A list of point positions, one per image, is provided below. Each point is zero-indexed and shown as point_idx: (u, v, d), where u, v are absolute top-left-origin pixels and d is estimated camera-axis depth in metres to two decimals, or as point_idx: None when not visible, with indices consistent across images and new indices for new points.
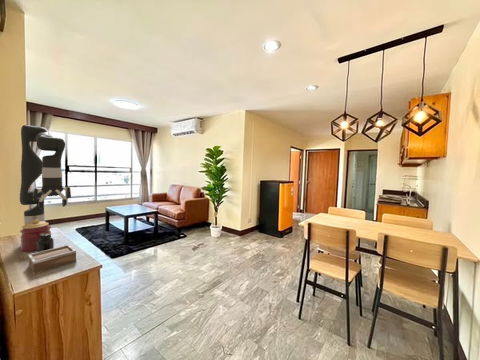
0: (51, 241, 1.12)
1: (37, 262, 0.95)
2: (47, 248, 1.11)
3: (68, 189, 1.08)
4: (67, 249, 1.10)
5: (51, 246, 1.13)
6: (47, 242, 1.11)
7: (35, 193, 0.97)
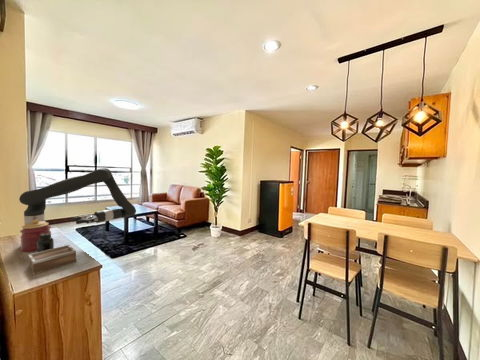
0: (51, 241, 1.12)
1: (37, 262, 0.95)
2: (47, 248, 1.11)
3: None
4: (67, 249, 1.10)
5: (51, 246, 1.13)
6: (47, 242, 1.11)
7: None
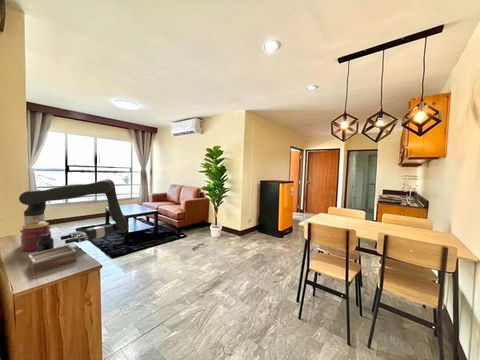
0: (51, 241, 1.12)
1: (37, 262, 0.95)
2: (47, 248, 1.11)
3: None
4: (67, 249, 1.10)
5: (51, 246, 1.13)
6: (47, 242, 1.11)
7: None
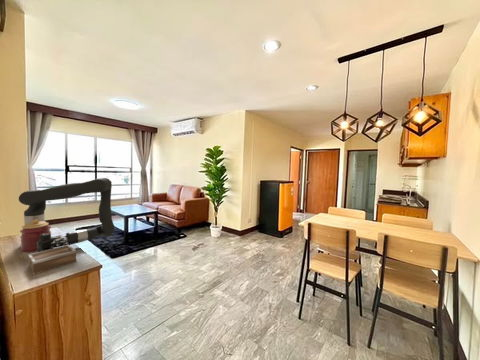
0: (51, 241, 1.12)
1: (37, 262, 0.95)
2: (47, 248, 1.11)
3: None
4: (67, 249, 1.10)
5: None
6: (47, 242, 1.11)
7: None
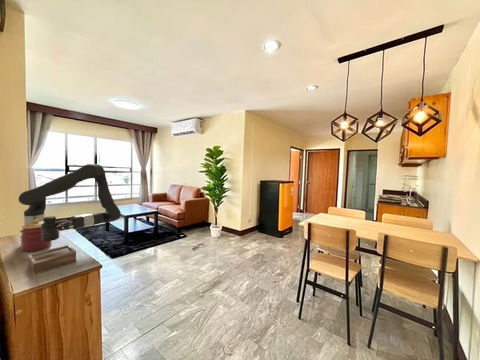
0: (56, 224, 1.07)
1: (37, 262, 0.95)
2: (52, 231, 1.05)
3: None
4: (67, 249, 1.10)
5: None
6: (52, 225, 1.05)
7: None
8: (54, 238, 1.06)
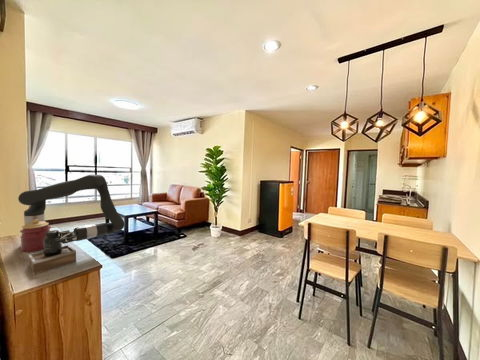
0: None
1: (37, 262, 0.95)
2: (55, 246, 1.02)
3: None
4: (67, 249, 1.10)
5: (59, 244, 1.04)
6: None
7: None
8: (56, 253, 1.03)
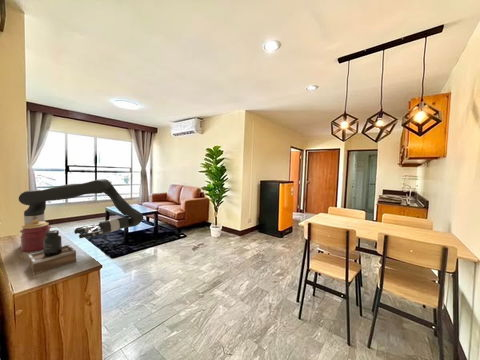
0: (59, 239, 1.04)
1: (37, 262, 0.95)
2: (55, 246, 1.02)
3: None
4: (67, 249, 1.10)
5: (59, 244, 1.04)
6: (55, 240, 1.02)
7: None
8: (56, 253, 1.03)
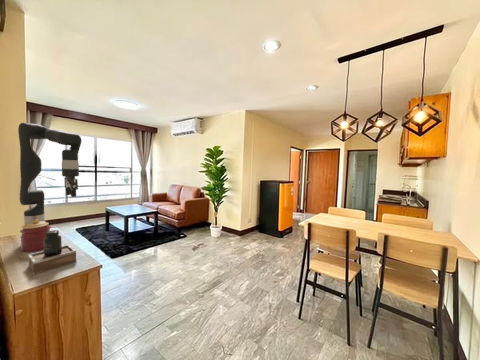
0: (59, 239, 1.04)
1: (37, 262, 0.95)
2: (55, 246, 1.02)
3: None
4: (67, 249, 1.10)
5: (59, 244, 1.04)
6: (55, 240, 1.02)
7: None
8: (56, 253, 1.03)
